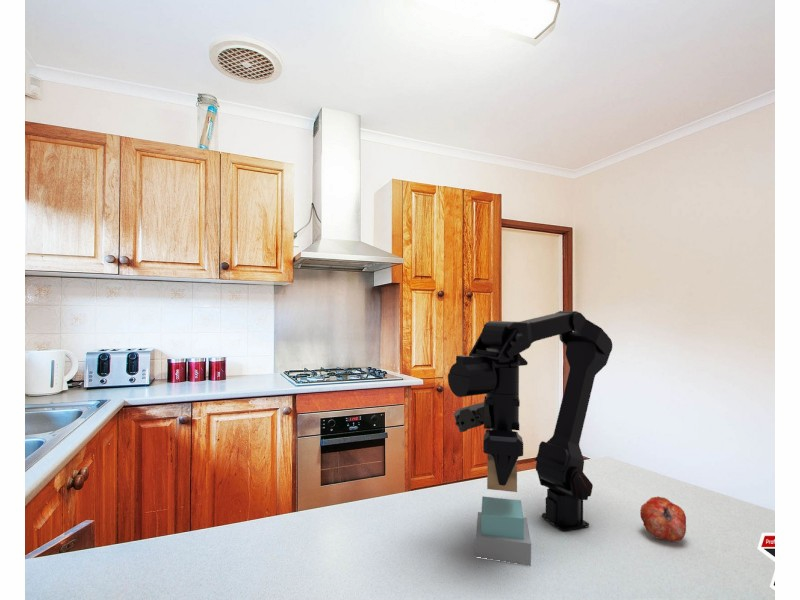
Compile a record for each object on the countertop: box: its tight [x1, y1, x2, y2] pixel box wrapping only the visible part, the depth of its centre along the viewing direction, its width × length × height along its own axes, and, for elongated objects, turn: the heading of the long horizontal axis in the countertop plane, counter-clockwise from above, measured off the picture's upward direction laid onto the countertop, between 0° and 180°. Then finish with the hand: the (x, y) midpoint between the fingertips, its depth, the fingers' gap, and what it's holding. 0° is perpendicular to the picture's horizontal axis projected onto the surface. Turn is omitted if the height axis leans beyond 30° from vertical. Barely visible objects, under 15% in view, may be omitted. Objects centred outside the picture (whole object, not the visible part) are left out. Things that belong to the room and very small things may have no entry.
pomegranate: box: [639, 495, 687, 543], centre depth 79 cm, size 7×7×10 cm
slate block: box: [475, 511, 532, 567], centre depth 75 cm, size 9×9×4 cm
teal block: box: [481, 495, 525, 540], centre depth 75 cm, size 7×7×4 cm
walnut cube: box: [486, 454, 518, 493], centre depth 76 cm, size 5×5×5 cm
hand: (501, 478), depth 76 cm, fingers closed on walnut cube, 5 cm apart
